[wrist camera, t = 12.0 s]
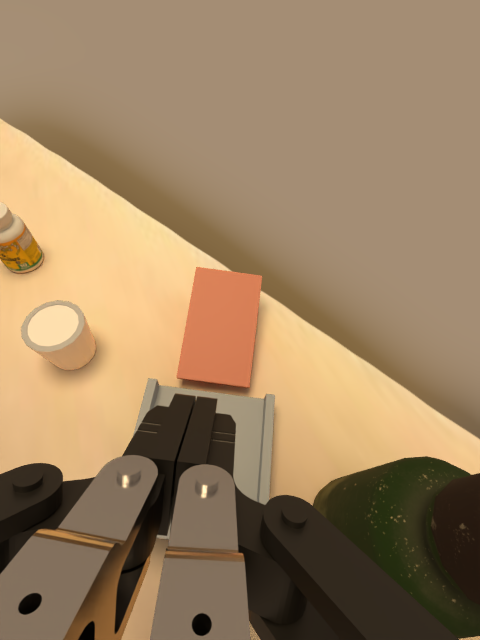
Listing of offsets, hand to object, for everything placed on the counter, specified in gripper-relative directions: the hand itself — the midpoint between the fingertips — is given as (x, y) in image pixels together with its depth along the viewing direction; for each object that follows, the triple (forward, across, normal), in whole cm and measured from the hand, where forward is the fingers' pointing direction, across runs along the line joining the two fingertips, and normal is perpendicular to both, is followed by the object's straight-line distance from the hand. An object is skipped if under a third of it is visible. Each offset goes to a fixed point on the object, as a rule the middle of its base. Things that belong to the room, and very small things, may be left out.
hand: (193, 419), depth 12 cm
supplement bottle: (+41, +32, +2) cm, 52 cm away
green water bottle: (+20, -17, +23) cm, 35 cm away
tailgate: (+28, +1, +12) cm, 30 cm away
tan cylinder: (+31, +20, +11) cm, 39 cm away
